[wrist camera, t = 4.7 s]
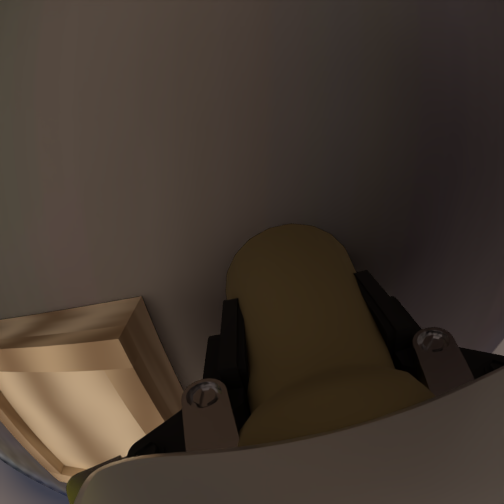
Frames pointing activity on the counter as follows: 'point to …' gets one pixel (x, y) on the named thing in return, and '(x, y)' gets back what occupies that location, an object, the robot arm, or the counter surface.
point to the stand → (84, 383)
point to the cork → (310, 339)
